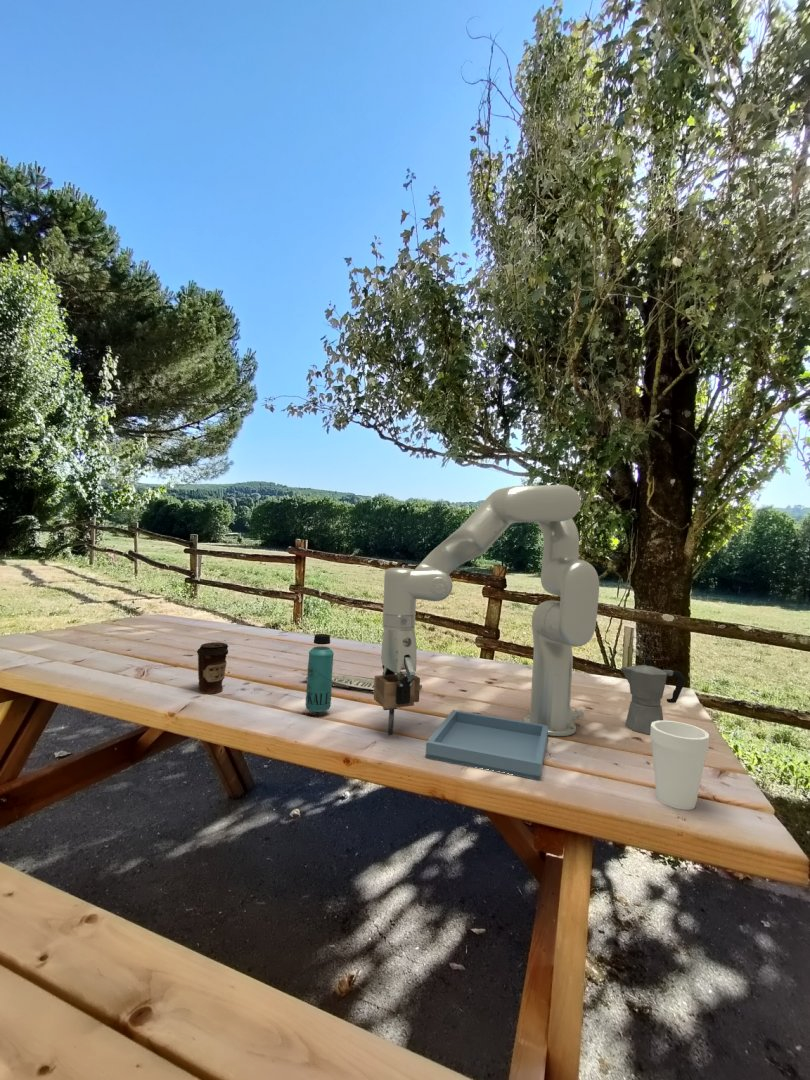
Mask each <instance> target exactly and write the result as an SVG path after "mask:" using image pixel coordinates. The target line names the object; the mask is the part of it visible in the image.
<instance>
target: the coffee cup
mask: <svg viewBox="0 0 810 1080" xmlns="http://www.w3.org/2000/svg"><path fill="white" fill-rule="evenodd" d="M228 648H229V645H228V644H227V643H224V642H219V641H218V642H214V641H213V642H206V643H203V644H201V645H200V647H199V648H198V649H197V651H196V653H197V673H198V676H197V677H198V692H199V693H200V694H216V693H217V694H218V693H220V692H222V691H223V690H224V688H223V687H224V685H223V681H224V679H225V673H226V668H227V655H228V654H229V650H228Z"/></svg>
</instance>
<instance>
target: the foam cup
mask: <svg viewBox="0 0 810 1080" xmlns="http://www.w3.org/2000/svg"><path fill="white" fill-rule="evenodd" d="M649 736H650V737H649V738H650V739H651V746H652V747H651V749H652V751H651V752H652V761H653V770H654V771H653V772H654V783H655V784H654V785H655V794H656V798H657V800H658V801H659V802H660V803H662V804H664V805H665V806H668V807H672V808H674V809H679V810H683V811H684V810H685V811H691V810H694V809H695V808H696V805H697V801H698V797H699V796H698V795H699V791H700V787H701V782H702V775H703V771H704V767H705V761H706V757H707V752H709V743H710V742H709V739H710V734H709V733H708V732H707V731H706V730H704V729H703V728H701V727H697V726H695V725H693V724H689V723H685V722H681V721H673V720H663V721H654V722H652V723H651V732H650V735H649Z"/></svg>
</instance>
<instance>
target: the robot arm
mask: <svg viewBox="0 0 810 1080" xmlns="http://www.w3.org/2000/svg"><path fill="white" fill-rule="evenodd" d="M581 502H582V501H581V497H580V494H579V493H578V491H577V490H576V488H574V487H572V486H570V485H566V484H548V485H515V486H507V487H504V488H503V487H502V488H498V489H496V490H495V491H493V492H492V493H490V494H489V496H487V498H486V499H484V500H483V502H482V503H481V504H480V505H479V506H478V507H477V509H475V510H474V512H473V513H472V514H471V515H469V517H468V518H467V519H466V520H465V521H464V522H463V523H462V524H461V525H460V527H458V528H457V529H456V530H455V531H454V532H452V533H451V534H450V535H449V536H448V537H447V538H446V539H445V540H443V541H442V542H441V543H440V544H438V545H437V546H436V547H435V548H434V549H433V550H431V551H430V552H429V553H428V554H427V555H426V557H425V558H423V560H422V561H421V562H420V563H419V564H418V565H417V566H416V568H414V569H412V568H407V567H389V568H387V569H386V570H385V572H384V577H383V578H384V579H383V580H384V583H383V605H382V608H383V609H382V628H383V633H382V640H381V656H380V659H381V664H382V666H381V667H382V670H383V671H382V675H392V674H397V679H398V685H399V686H397V692H396V703H397V704H407V703H410V687H411V685H412V681H413V677H414V676H415V675H416V671H417V637H416V630H415V628H416V613H417V612H416V611H417V610H416V609H417V607H416V606H417V600H423V601H428V602H441V601H443V600H445V599H448V597H450V595H451V593H452V591H453V586H454V585H453V579H452V578H451V576H450V574H451V573H453V572H454V571H455V570H456V569H457V568H458V567H460V566H461V565H463V564H465V563H467V562H469V561H471V560H474V559H476V558H478V557H480V556H482V555H483V554H485V553H486V552H487V551H488V550H489V549H490V548H491V547H492V546H493V545H494V544H495V542H496V541H497V540H498V539H499V538H500V537H501V535H502V534H504V532H505V531H506V530H507V529H508V528H509V527H510V526H511V525H512V524H513V523H517V524H518V523H536V524H537V526H538V527H539V528H540V530H541V532H542V533H541V534H542V536H543V549H542V550H543V551H542V552H543V553H542V561H541V571H540V572H541V573H540V574H541V575H540V583H541V586H542V589H543V590H544V591H546V592H547V593H548V594H551V595H553V596H557V597H560V601H559V600H553V599H552V600H551V599H550V600H545V601H543V602H540V603H539V604H538V605H537V606H536V607H535V608H534V610H533V612H532V617H531V629H532V630H531V631H532V639H533V659H532V673H531V675H532V677H531V692H530V693H531V694H530V708H529V711H530V712H529V714H528V715H526V716H525V717H524V718H523V721H524V722H530V723H536V724H543V725H548V736H552V737H566V736H567V737H568V736H571V735H574V734H575V732H576V730H577V729H576V728H577V727H576V725H575V723H574V722H573V721H574V720H575V719H582V718H584V717H585V713H584V711H583V710H582V709H578V710H573V709H572V708H571V697H572V680H573V677H572V676H573V665H574V664H573V662H574V655H573V648H572V647H574V648H575V647H576V648H577V647H578V648H579V647H582V646H585V645H586V644H588V643H589V642H590V641H591V639H592V638H593V636H594V634H595V630H596V627H597V616H598V608H599V607H598V606H599V597H600V578H599V575H598V572H597V570H596V569H595V567H594V566H593V564H591V563H589V562H588V561H586V560H583V559H579V553H580V549H579V547H580V537H579V536H580V535H579V531H578V527H577V525H576V523H575V522H574V518H575V516H576V515H577V514H578V513H579V511H580V508H581V505H582V504H581ZM403 670H405V671H403ZM401 675H405V677H404V678H403V680H402V676H401Z"/></svg>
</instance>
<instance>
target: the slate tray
mask: <svg viewBox="0 0 810 1080" xmlns="http://www.w3.org/2000/svg"><path fill="white" fill-rule="evenodd" d="M548 737H549V735H548V725H543V724H536V723H530V722H524V720H517V719H511V718H506V717H499V716H493V715H488V714H483V713H481V714H480V713H475V712H470V711H469V712H468V711H463V710H457V709H453V710H451V712H450V713H449V714H448V715H447V716H446V718H445V719H444V720H443V721H442V723H441V724H440V725H439V726H438V727H437V729H436V730H435V731H434V732H433V733H432V734H431V736H430V737H429V739H428V740H427V741H426V744H425V745H426V747H425V759H429V760H430V759H431V760H435V761H440V762H446V763H450V764H454V765H455V764H456V765H458V766H459V765H460V766H465V767H469V768H474V769H475V767H477V768H476V769H479V768H483V769H482V770H484V769H489V770H494V771H500V772H505V773H509V774H513V775H512V776H514V775H518V776H517V777H519V776H523V777H522V778H524V777H527V778H526V779H529V778H532V779H531V780H534V779H536V780H535V781H539V780H540V781H541V778H542V777H541V776H542V773H543V771H542V770H543V767H544V766H543V765H544V761H545V754H546V750H547V744H548V740H549V738H548ZM489 770H488V771H489ZM494 771H493V772H494ZM509 774H508V775H509Z"/></svg>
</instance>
